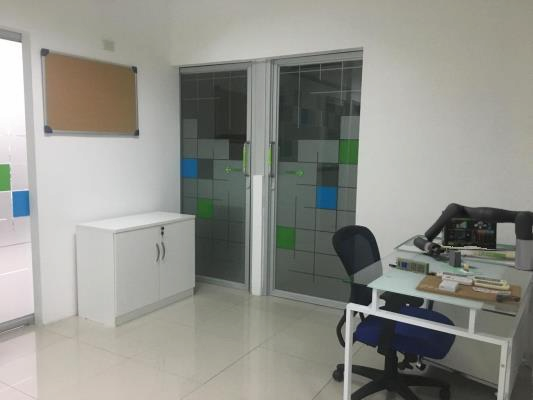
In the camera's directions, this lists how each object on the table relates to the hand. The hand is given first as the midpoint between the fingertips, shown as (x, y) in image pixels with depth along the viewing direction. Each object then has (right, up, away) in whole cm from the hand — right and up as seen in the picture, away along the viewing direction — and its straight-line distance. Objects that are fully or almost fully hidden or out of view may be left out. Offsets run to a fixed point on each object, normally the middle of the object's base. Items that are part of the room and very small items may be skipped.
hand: (446, 253), depth 274 cm
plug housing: (+1, -6, -10) cm, 11 cm away
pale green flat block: (+2, -8, -15) cm, 17 cm away
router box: (+35, -3, +49) cm, 61 cm away
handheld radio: (-28, -8, -15) cm, 32 cm away
